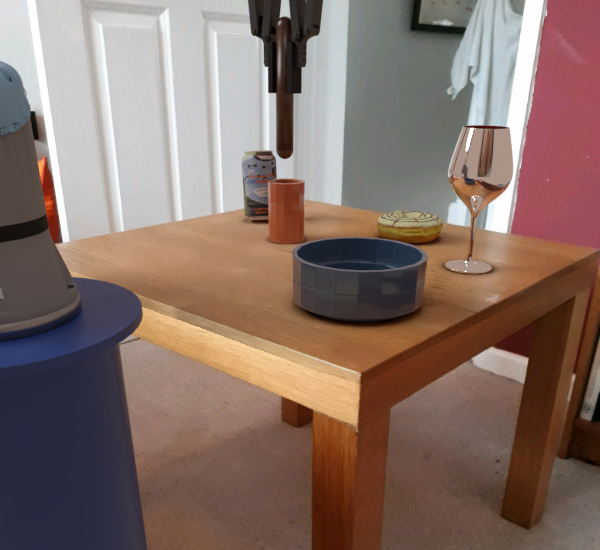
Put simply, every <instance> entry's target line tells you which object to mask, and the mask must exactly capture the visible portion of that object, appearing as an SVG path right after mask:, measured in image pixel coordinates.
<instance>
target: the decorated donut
mask: <svg viewBox="0 0 600 550" xmlns="http://www.w3.org/2000/svg"><path fill="white" fill-rule="evenodd" d="M376 222H377V223H376V228H377V231H378V234H379V235H380V236H381V238H382V239H388V240H395V241H400V242H404V243H408V244H425V243H429V242H433V241H434V240H435V239H436V238H438V236H439V235H440V234H441V231H442V229H443V228H444V227H443V226H444V220H443V219H442V218H441V217H439V216H437V215H435V214H433V213H429V212H426V211H417V210H416V211H415V210H413V211H412V210H402V209H400V210H398V209H397V210H393V211H390V212H387V213H384V214H381V215H380V216H379V217H378V218H377V220H376Z"/></svg>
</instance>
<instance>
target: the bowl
mask: <svg viewBox="0 0 600 550" xmlns="http://www.w3.org/2000/svg"><path fill="white" fill-rule="evenodd" d="M428 260H429V254H428V253H427V252H426V251H425V250H424V249H423V248H421V247H419V246H417V245H415V244H412V243H404V242H400V241H395V240H389V239H385V238H382V237H381V238H380V237H365V236H339V237H338V236H337V237H328V238H320V239H315V240H309V241H306V242H304V243H300V244H298V245H296V246H295V247H294V248H293V249H292V250H291V298H292V302H293V303H294V304H296V305H297V306H298V307H300V309H302V310H305V311H308V312H310V313H313V314H314V315H317V316H319V317H322V318H327V319H330V320H336V321H342V322H353V323H368V322H369V323H373V322H382V321H388V320H393V319H396V318H399V317H402V316H405V315H408V314H411V313H414V312H415V311H417V310H418V309H420V308H421V307H422V306H423V304H424V299H425V290H426V289H425V288H426V280H427V271H428V270H427V269H428Z"/></svg>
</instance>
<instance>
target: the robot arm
mask: <svg viewBox="0 0 600 550" xmlns="http://www.w3.org/2000/svg"><path fill="white" fill-rule="evenodd" d="M247 3H248V4H247V6H248V15H249V26H250V27H249V28H250V33H251V36H253V37H256V38H259V39H260V40H261V41H262V43H263V65H264V68H267V93H268V94H276V23H277V21H278V19H279V18H281V9H282V8H281V7H282V0H247ZM288 5H289V6H288V7H289V18H290V19H291V29H292V36H289V37H290V39H291V40H294V42H293V41H287V94H294V95H296V94H299V95H300V94H302V85H303V83H302V81H303V80H302V79H303V78H302V77H303V75H302V73H303V71H302V70H303V68H306V66H307V54H308V53H307V52H308V51H307V49H308V45H307V44H308V41H309V40H310V39H311V38H313V37H318V36H319V34H320V32H321V25H322V24H321V23H322V15H323V14H322V13H323V5H324V0H288ZM24 87H25V86H24V82H23V80H22V77H21V75H20V74H19V72H18V71H17V69H16V68H14V67H13V66H12V65H11V64H10V63H9V64H8V63H6V62H4V61H2V60H0V342H2V341H9V340H15V339H20V338H25V337H30V336H34V335H38V334H41V333H44V332H48V331H50V330H53V329H56V328H58V327H60V326H63V325H65V324H67V323H68V322H70V321H72V320H73V319H74V318H75V317H77V316H78V315H79V313H80V312H81V309H82V306H81V300H80V294H79V290H78V288H77V285H76V283H75V282H74V280H73V278H72V277H73V276H72V274H71V272H70V270H69V268H68V266H67V264H66V262H65V261H64V259H63V257H62V255H61V253H60V251H59V249H58V247H57V245H56V243H55V240H54V239H53V237H52V235H51V231H50V225H49V220H48V214H47V208H46V202H45V196H44V191H43V189H44V188H43V184H42V179H41V178H42V177H41V173H40V166H39V160H38V154H37V149H36V143H35V136H34V132H33V131H34V130H33V125H32V119H31V116H32V109H31V108H32V107H31V104H30V102H29V100H28V98H27V95H26V92H25V88H24Z"/></svg>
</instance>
